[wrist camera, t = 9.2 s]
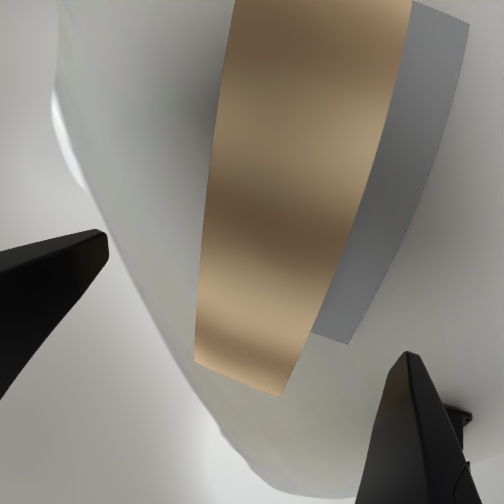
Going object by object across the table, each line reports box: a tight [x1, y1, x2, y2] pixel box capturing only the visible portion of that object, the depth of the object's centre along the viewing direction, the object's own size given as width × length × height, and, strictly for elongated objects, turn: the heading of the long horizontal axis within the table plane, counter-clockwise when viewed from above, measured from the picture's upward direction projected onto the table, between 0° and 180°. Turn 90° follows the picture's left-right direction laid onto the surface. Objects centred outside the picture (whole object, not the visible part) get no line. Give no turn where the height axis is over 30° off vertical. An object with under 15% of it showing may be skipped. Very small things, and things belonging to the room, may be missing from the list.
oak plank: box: [194, 0, 412, 397], centre depth 12 cm, size 18×5×4 cm, turn 170°
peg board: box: [311, 1, 470, 345], centre depth 16 cm, size 22×12×5 cm, turn 170°
